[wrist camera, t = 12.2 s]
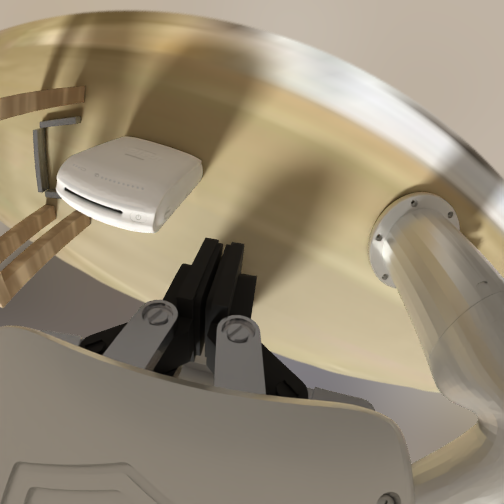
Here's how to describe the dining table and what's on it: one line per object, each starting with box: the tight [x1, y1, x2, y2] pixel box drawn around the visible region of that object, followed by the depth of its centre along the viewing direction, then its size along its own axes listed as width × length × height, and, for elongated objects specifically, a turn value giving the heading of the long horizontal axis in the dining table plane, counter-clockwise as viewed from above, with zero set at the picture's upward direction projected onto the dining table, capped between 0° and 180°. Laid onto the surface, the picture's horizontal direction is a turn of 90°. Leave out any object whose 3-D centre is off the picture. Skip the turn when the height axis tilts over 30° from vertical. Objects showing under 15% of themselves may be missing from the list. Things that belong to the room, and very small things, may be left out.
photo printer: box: [56, 137, 203, 233], centre depth 21 cm, size 10×4×12 cm, turn 69°
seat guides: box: [33, 116, 81, 199], centre depth 26 cm, size 8×11×2 cm
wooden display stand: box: [0, 86, 90, 308], centre depth 19 cm, size 9×18×18 cm, turn 173°
